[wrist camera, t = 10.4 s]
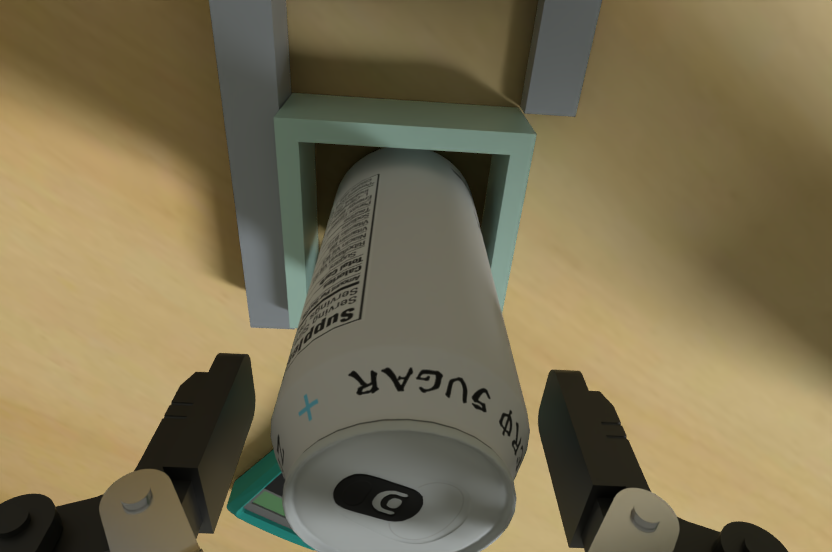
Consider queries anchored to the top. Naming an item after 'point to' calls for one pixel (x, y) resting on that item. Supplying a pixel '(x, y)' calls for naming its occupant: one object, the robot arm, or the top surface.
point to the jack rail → (367, 141)
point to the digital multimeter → (263, 499)
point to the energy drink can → (401, 372)
